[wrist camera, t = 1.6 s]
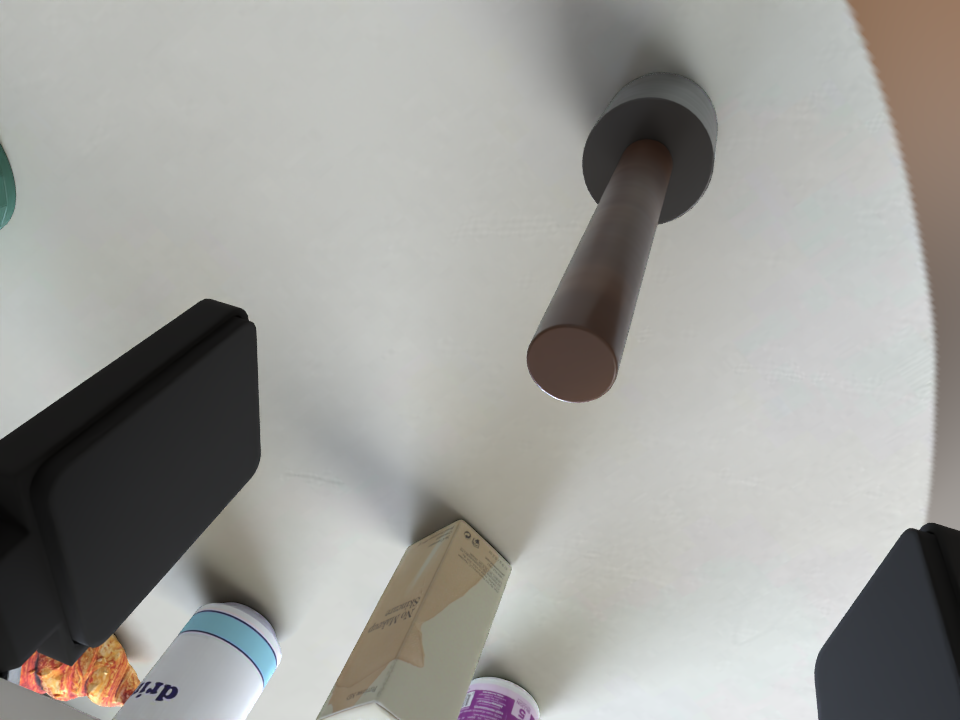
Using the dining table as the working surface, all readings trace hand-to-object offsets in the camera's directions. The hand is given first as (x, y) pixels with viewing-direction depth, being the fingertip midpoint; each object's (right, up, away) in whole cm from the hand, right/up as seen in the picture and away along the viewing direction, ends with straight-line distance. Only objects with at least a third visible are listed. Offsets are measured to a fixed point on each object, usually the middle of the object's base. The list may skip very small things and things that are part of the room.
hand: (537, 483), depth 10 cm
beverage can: (-18, -17, +41) cm, 48 cm away
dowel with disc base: (+5, +10, +15) cm, 19 cm away
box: (-2, -9, +30) cm, 32 cm away
